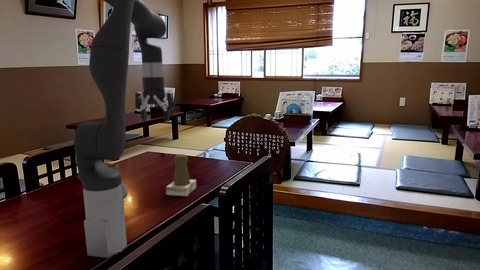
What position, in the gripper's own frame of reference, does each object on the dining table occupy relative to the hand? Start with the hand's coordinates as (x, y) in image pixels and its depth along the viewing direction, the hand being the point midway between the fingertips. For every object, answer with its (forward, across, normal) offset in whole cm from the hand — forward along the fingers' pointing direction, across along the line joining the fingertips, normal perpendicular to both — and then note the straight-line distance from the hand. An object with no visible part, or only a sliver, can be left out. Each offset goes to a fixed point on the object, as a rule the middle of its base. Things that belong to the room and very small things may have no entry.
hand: (155, 121), depth 132 cm
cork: (+24, +8, +3) cm, 26 cm away
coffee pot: (+27, -12, -18) cm, 35 cm away
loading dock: (+27, +8, +3) cm, 28 cm away
